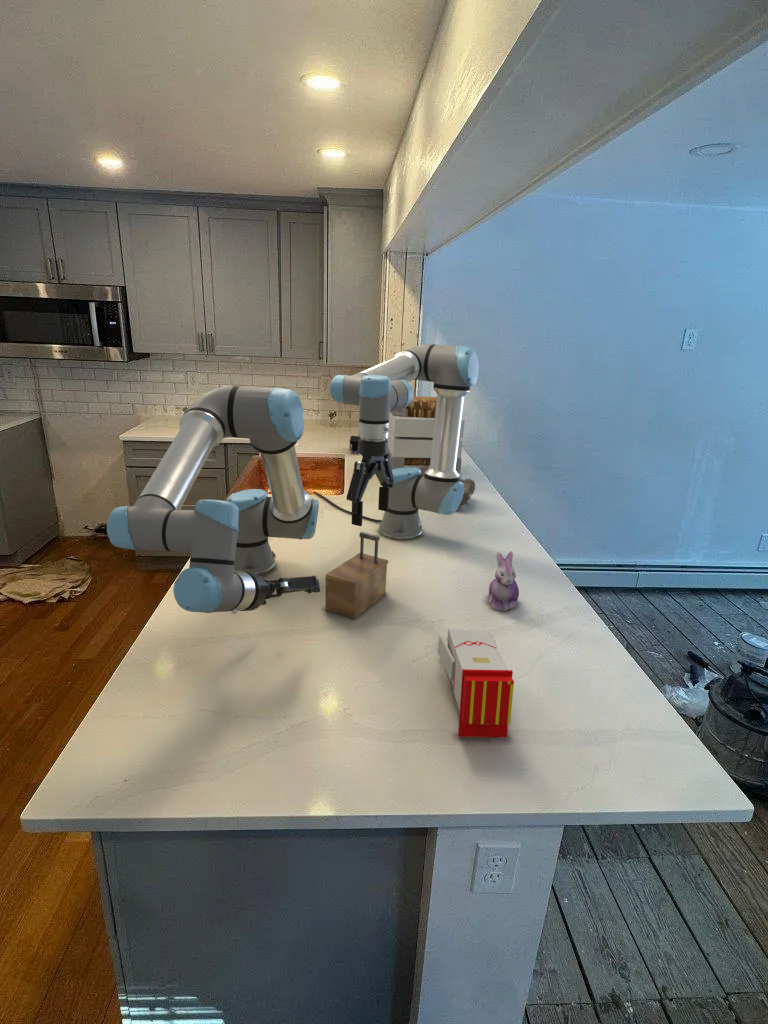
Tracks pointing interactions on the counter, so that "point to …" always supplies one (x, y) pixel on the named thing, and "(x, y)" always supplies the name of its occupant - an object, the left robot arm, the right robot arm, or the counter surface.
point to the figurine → (503, 584)
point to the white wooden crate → (415, 434)
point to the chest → (355, 594)
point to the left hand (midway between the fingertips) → (290, 592)
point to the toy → (478, 682)
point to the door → (359, 564)
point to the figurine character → (354, 444)
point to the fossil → (467, 491)
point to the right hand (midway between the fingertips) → (370, 517)
